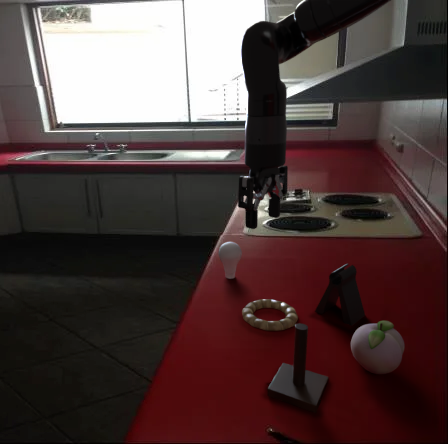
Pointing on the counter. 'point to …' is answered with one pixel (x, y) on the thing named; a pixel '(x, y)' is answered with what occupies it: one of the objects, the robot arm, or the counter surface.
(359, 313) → the phone stand
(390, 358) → the decorative fruit
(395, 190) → the counter surface
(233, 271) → the lightbulb
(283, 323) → the beige segmented ring
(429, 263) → the counter surface
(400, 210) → the counter surface
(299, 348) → the post
